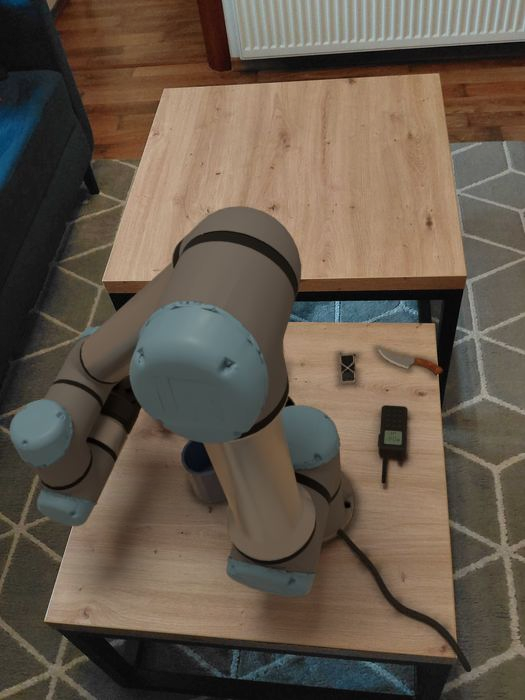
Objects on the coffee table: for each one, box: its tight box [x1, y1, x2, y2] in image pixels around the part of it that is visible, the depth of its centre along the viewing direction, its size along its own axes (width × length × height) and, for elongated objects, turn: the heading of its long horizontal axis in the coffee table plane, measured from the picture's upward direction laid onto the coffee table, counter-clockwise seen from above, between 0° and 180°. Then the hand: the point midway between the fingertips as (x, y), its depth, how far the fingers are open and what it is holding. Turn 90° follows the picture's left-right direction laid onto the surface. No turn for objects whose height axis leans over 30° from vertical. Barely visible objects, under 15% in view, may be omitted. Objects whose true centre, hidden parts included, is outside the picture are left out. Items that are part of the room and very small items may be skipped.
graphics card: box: [339, 352, 357, 385], centre depth 126 cm, size 7×1×3 cm
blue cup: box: [180, 439, 227, 504], centre depth 111 cm, size 8×8×10 cm
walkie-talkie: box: [377, 404, 408, 485], centre depth 113 cm, size 5×3×15 cm
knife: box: [378, 349, 444, 376], centre depth 126 cm, size 13×1×3 cm
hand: (163, 315), depth 112 cm, fingers closed on red cup, 8 cm apart
